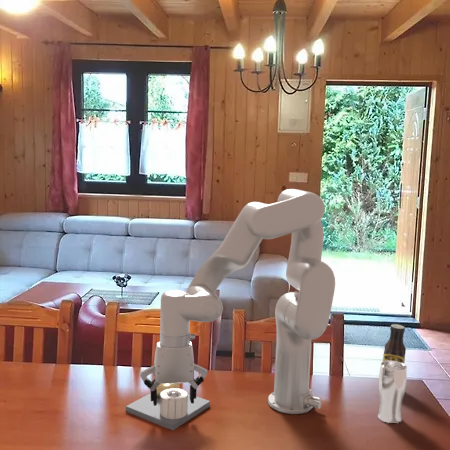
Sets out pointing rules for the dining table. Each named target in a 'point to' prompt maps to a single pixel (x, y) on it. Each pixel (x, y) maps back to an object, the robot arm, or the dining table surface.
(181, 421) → the board
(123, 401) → the dining table surface
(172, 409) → the ring
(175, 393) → the pin
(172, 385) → the brass disc
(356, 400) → the dining table surface
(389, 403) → the beer glass
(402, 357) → the sauce bottle
